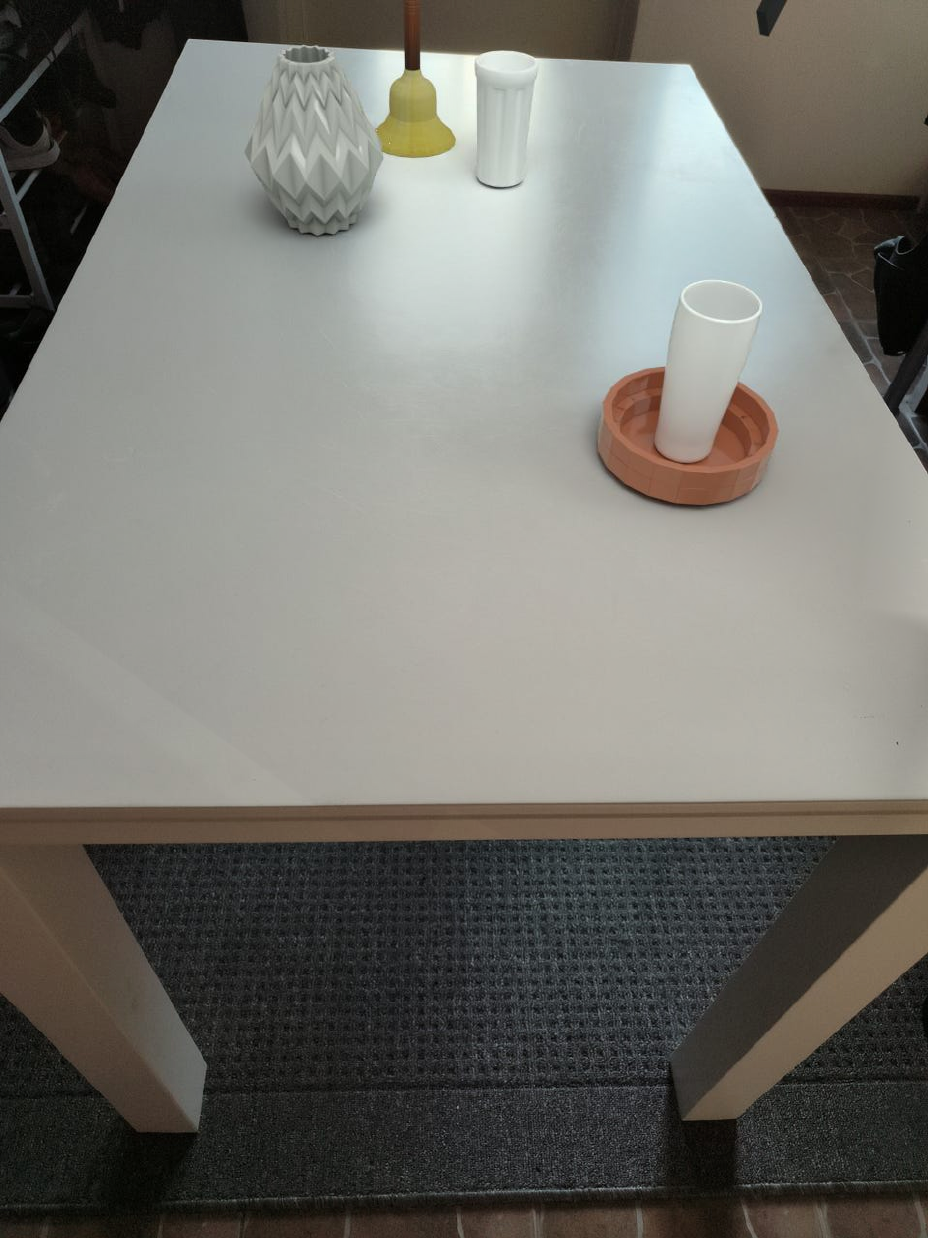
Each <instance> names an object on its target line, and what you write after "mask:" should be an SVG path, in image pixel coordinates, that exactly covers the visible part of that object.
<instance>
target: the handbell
mask: <svg viewBox="0 0 928 1238" xmlns="http://www.w3.org/2000/svg"><path fill="white" fill-rule="evenodd" d="M401 1H402V8H403V45H404V46H403V51H404V69H403V73H402V75H401V76H400V77H398V78H397V79H395V80H394V81H393V83H392V84H391V85H390V88H389V95H388V96H389V97H388V109H389V112H388V114H387V116H386V118H385V119H384V121H383V122H382V123H380V124H379V125H377V127H378V128H377V127H376V128H374V129H375V131H376V130H377V131H376V132H377V134H378V136H379V138H380V140H381V142H382V148H381V151H382V153H383V152H384V153H386V154H388V155H393V156H397V157H402V158H403V157H405V158H426V157H427V158H428V157H432V156H437V155H441V154H443V153H446V152H447V151H450V150H451V149H452V148H453V147H454V146H455V145H456V141H457V139H456V137H455V134H454V132H453V131H452V129H451V128H449V127H448V126H447V124H445V123H444V122H443V121H442V120H441V118H440V116H439V115H438V110H437V109H438V108H437V107H438V106H437V105H438V100H437V90H436V88H435V86H434V84H433V82H432V81H430V80H429V79H428V78H426V77H425V76H424V75H423V73H422V70H421V2H422V0H401ZM389 143H390V144H389Z"/></svg>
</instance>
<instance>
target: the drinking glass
mask: <svg viewBox="0 0 928 1238" xmlns="http://www.w3.org/2000/svg"><path fill="white" fill-rule="evenodd" d="M762 312H763V302H762V300H761V298H760V297H759V295H758V294H757V293H755V292H754V291H753V290H751V289H750V288H748V287H746V286H744V285H742V284H740V283H736V282H733V281H728V280H722V279H701V280H698V281H694V282H692V283H690V284H688V285H686V286H685V287H684V288H683V289H682V290H681V292H680V295H679V299H678V302H677V306H676V309H675V312H674V317H673V320H672V325H671V329H670V334H669V339H668V346H667V352H666V359H665V366H666V367H665V374H664V382H663V389H662V396H661V403H660V410H659V417H658V423H657V428H656V432H655V437H654V442H655V446H656V448H657V450H658V451H659V452H660V453H661V454H662V455H663V456H664V457H666V458H668V459H670V460H672V461H675V462H680V463H694V462H698V461H700V460H702V459H704V458H705V457H707V456H708V454H709V453H710V451H711V449H712V446H713V443H714V440H715V437H716V434H717V431H718V429H719V426H720V424H721V421H722V419H723V417H724V414H725V412H726V409H727V407H728V405H729V402H730V400H731V397H732V395H733V393H734V390H735V388H736V385H737V383H738V382H740V381H739V380H740V379H741V376H742V373H743V371H744V369H745V366H746V364H747V361H748V358H749V356H750V354H751V351H752V349H753V345H754V342H755V340H756V339H755V338H756V336H757V332H758V328H759V325H760V321H761V317H762Z"/></svg>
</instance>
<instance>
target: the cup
mask: <svg viewBox="0 0 928 1238" xmlns="http://www.w3.org/2000/svg"><path fill="white" fill-rule="evenodd" d="M539 67H540V63H539V61H538V60H537V59H536V58H535V57H534V56H532V55H531V54H527V53H525V52H520V51H515V50H493V51H491V50H490V51H487V52H484V53H481V54H479V55H478V56H476V57H475V60H474V76H475V78H476V178H477V179H478V180H479V182H481V183H483V184H485V185H487V186H492V187H500V188H504V187H505V188H506V187H507V188H508V187H513V186H516V185H518V184H521V182H522V181H523V180H524V170H525V163H526V154H527V146H528V138H529V130H530V121H531V112H532V105H533V97H534V89H535V82H536V80H537V78H538V74H539V73H538V72H539Z"/></svg>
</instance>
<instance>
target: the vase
mask: <svg viewBox="0 0 928 1238" xmlns="http://www.w3.org/2000/svg"><path fill="white" fill-rule="evenodd" d="M257 115H258V116H257V117H256V119H255V120H254V122H253V125H252V128H251V130H250V134H249V136H248V140H247V142H246V145H245V148H244V155H245V156H246V158H247V160H248V162H249V165H250V168H251V169H252V171H253V173H254V175H255V176H256V178H257V179H258V181H259V182H260V183H261V185H262V187H263V189H264V191H265V194H266V195H267V197H268V199H269V201H270V202H271V204H272V206H273V207H274V209H276V210H279V212H280V213H281V214H282V215H283V217H285V220H286V221H287V222H288V223H287V224H288V226H289V228H292V229H298V231H299V232H300V234H307V233H311V234H313V235H315V236H316V237H318V236H321V235H323V234H329V235H336V234H337V233H338V232H339V231H349V228H350V225H352V224H356V222H357V217H358V213H360V212H361V210H362V209H363V207H364V205H365V203H366V201H367V199H368V197H369V196H370V194H371V192H372V189H373V186H374V183H375V178H376V176H377V172H378V170H379V169H380V166H381V164H382V163H383V160H384V155H383V151H381V148H382V142H381V140H380V138H379V136H378V134H377V132H376V131H375V129H376V128H375V127H374V125H372V123H371V122H370V120H369V119H368V117H367V116H366V114H365V111H364V108H363V106H362V103H361V101H360V98H359V95H358V92H357V90H356V89H355V88H354V86H352V83H351V82H350V81H349V79H348V78H347V77H346V74H345V71H344V68H342V67H341V65H340V63H339V62H338V61H337V57H336V53H335V52H334V51H330V49H329V48H328V47H324V48H323V47H322V48H320V47H319V46H318V44H316V45H312V46H308V45H306V44H302V45H300V46H298V47H297V46H292V45H291V46H290V47H289V48H288V49H281V50H280V53H277V55H276V63H275V64H274V65H273V67H272V70H271V75H270V77H269V79H268V80H267V83H266V84H265V85H264V87H263V91H262V96H261V101H260V106H259V110H258V114H257Z"/></svg>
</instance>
